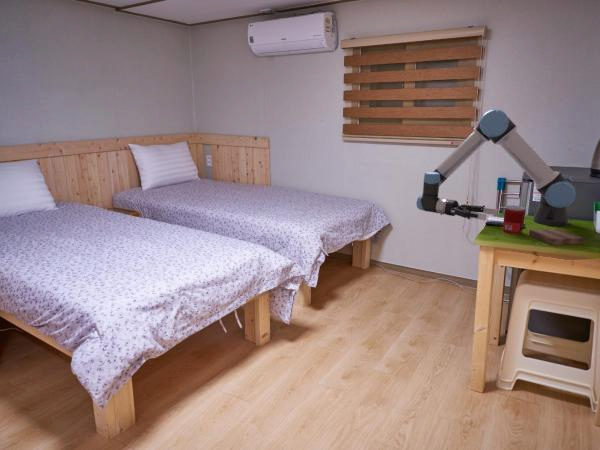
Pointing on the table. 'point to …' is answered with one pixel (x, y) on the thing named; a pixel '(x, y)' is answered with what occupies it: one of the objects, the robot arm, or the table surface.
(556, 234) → the walnut base
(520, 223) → the canned food
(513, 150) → the robot arm
